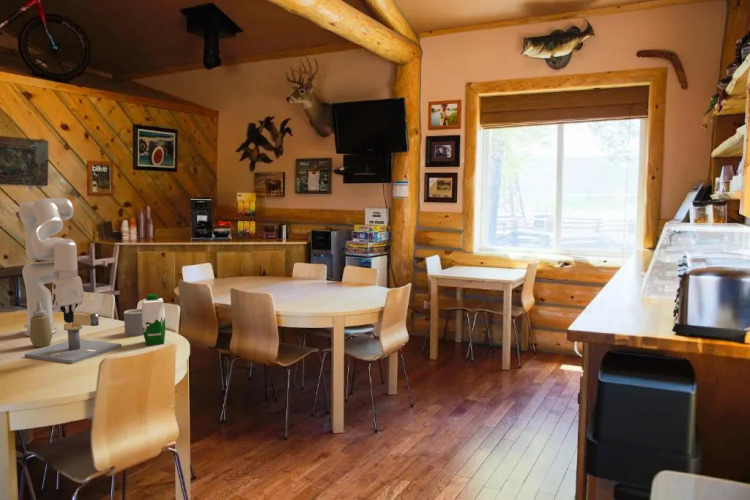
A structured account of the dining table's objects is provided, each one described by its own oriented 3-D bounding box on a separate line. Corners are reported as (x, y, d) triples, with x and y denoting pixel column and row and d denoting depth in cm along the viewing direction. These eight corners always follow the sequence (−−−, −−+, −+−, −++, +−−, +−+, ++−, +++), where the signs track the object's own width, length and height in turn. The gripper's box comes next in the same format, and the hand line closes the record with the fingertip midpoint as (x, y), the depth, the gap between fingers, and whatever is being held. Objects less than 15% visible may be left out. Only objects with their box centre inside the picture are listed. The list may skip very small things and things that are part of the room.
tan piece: (92, 332, 223) (91, 316, 222) (60, 330, 226) (59, 313, 225) (103, 328, 229) (103, 312, 228) (72, 326, 232) (71, 310, 232)
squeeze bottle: (57, 344, 241) (54, 301, 239) (40, 349, 233) (37, 305, 231) (42, 342, 243) (40, 299, 241) (25, 347, 236) (22, 303, 234)
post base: (24, 356, 222) (23, 333, 221) (76, 341, 245) (75, 320, 244) (72, 363, 214) (71, 339, 213) (121, 346, 236) (120, 325, 236)
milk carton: (165, 338, 249) (163, 292, 247) (166, 344, 241) (164, 296, 238) (143, 341, 245) (140, 294, 243) (143, 346, 237) (141, 298, 235)
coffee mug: (127, 337, 251) (126, 314, 250) (122, 332, 260) (121, 310, 259) (159, 333, 259) (158, 311, 258) (154, 328, 267) (153, 307, 266)
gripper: (52, 278, 209) (55, 327, 211) (91, 272, 222) (93, 319, 224) (40, 276, 213) (43, 325, 215) (79, 270, 226) (81, 317, 228)
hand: (69, 322), depth 220 cm, fingers closed
